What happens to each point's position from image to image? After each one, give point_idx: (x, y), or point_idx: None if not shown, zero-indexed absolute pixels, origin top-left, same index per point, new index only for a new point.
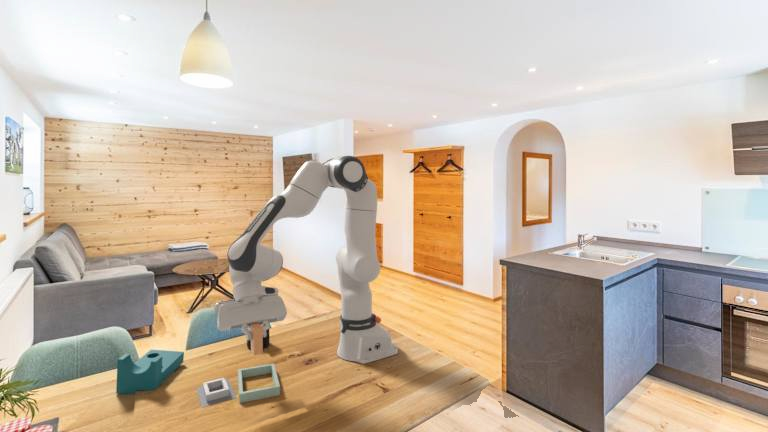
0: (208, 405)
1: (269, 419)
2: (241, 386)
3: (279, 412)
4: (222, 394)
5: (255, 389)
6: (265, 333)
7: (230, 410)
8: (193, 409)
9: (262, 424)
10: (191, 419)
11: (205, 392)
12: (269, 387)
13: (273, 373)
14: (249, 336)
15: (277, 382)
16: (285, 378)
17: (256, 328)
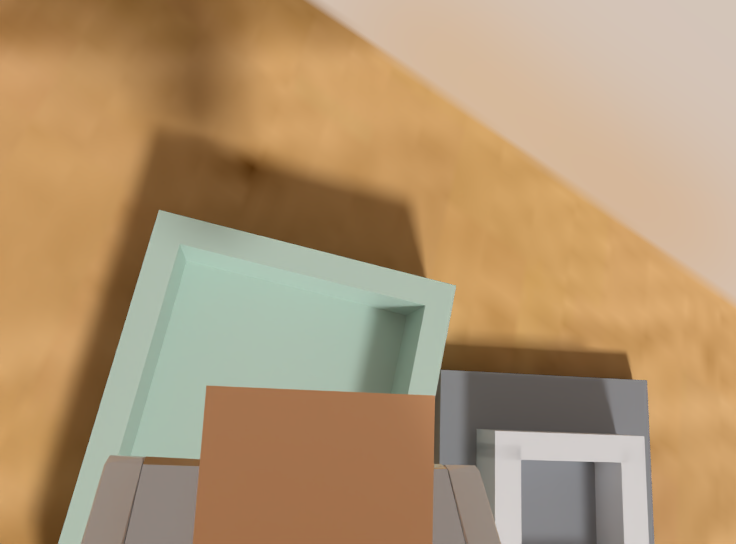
0: (609, 382)
1: (313, 63)
2: (417, 388)
3: (237, 89)
4: (529, 431)
5: (337, 279)
6: (123, 473)
7: (486, 288)
8: (673, 431)
9: (362, 46)
10: (686, 328)
11: (645, 482)
12: (234, 247)
13: None
14: (454, 479)
15: (149, 282)
16: (3, 494)
17: (368, 395)
